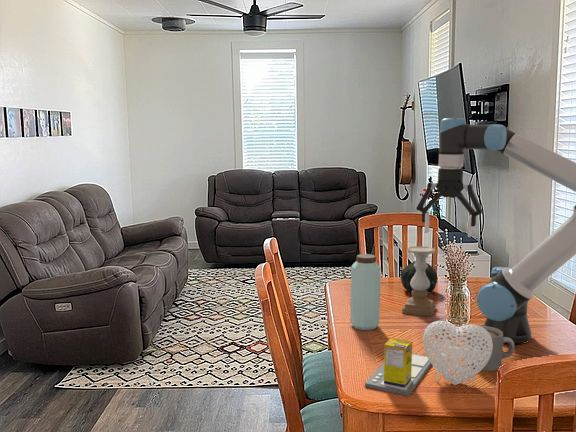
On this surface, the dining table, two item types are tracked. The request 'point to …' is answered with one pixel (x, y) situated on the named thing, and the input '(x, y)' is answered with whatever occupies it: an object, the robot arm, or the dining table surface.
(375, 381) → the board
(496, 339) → the coffee mug
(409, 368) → the supplement box
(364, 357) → the dining table surface
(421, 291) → the candle holder
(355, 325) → the water bottle
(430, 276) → the squash
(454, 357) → the decorative heart
